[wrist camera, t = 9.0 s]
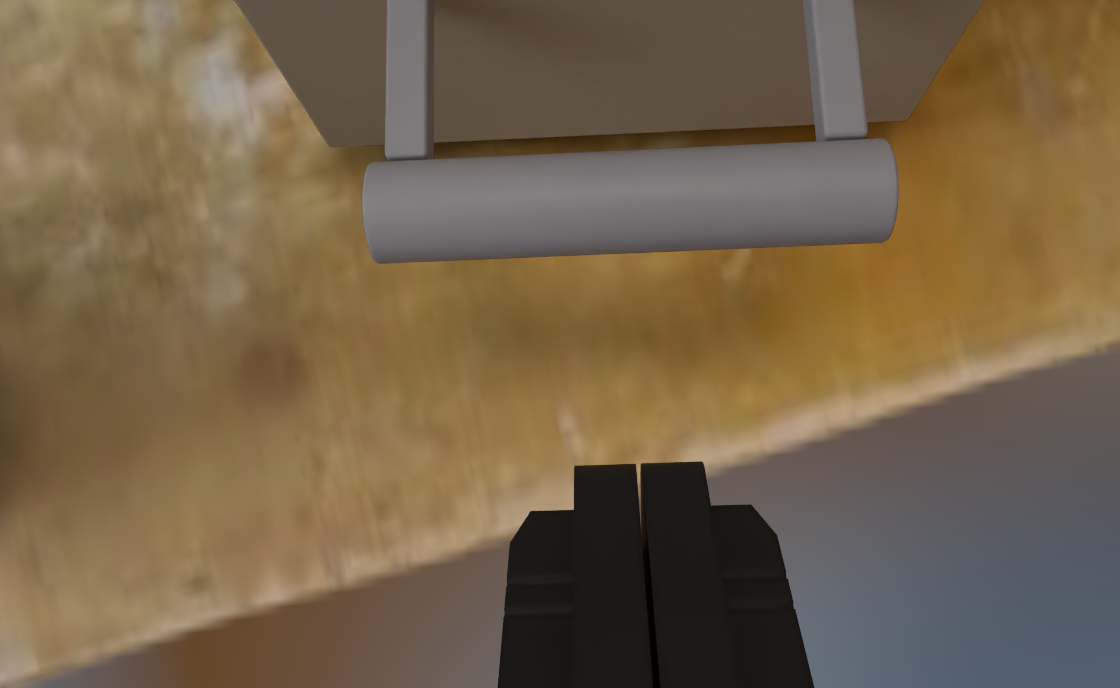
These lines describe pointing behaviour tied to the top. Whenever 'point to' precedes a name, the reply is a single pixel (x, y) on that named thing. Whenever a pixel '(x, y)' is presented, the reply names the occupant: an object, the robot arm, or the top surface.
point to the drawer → (612, 116)
